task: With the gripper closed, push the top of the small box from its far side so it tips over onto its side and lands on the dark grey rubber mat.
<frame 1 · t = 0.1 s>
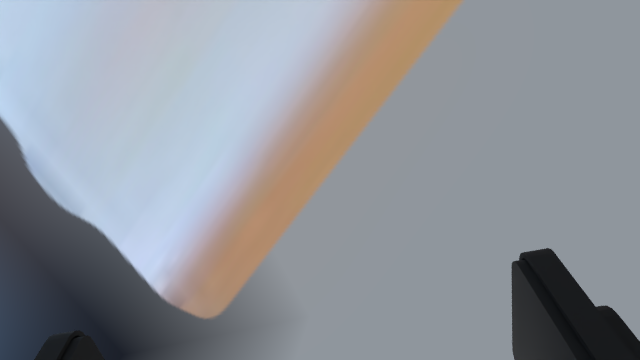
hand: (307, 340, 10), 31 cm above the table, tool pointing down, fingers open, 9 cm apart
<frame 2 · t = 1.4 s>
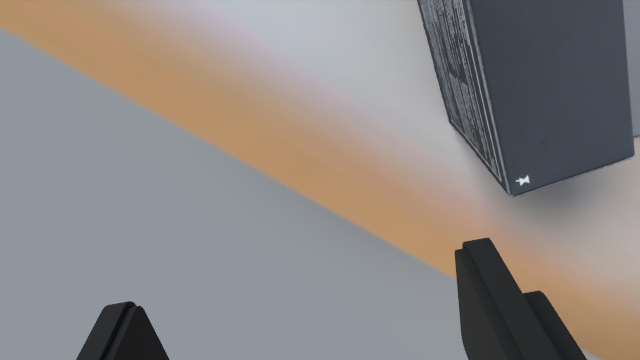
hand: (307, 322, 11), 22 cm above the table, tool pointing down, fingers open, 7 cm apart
small box: (478, 32, 30), on the table
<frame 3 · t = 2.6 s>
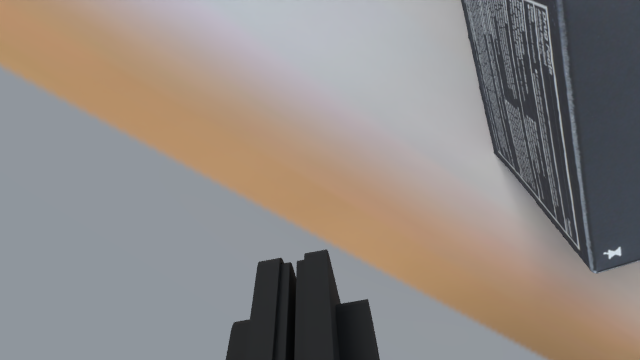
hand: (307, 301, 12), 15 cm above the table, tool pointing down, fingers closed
small box: (536, 44, 24), on the table
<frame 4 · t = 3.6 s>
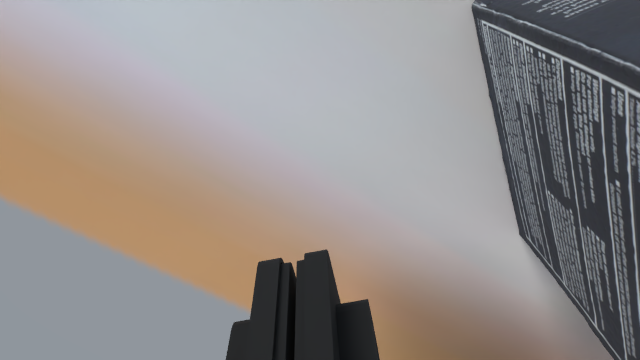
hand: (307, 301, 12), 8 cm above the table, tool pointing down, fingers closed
small box: (576, 102, 18), on the table
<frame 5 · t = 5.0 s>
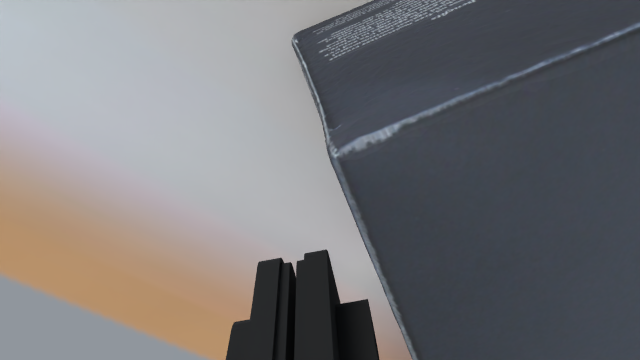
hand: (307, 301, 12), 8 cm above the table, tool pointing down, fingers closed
small box: (415, 130, 18), on the table, touching gripper
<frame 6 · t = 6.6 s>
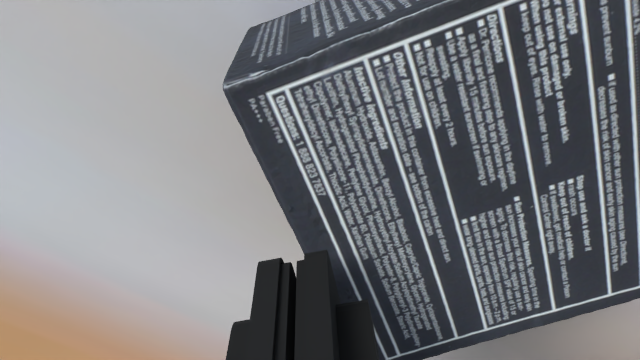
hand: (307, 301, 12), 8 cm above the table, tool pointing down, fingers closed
small box: (297, 202, 15), point 4 cm above the table, touching mat
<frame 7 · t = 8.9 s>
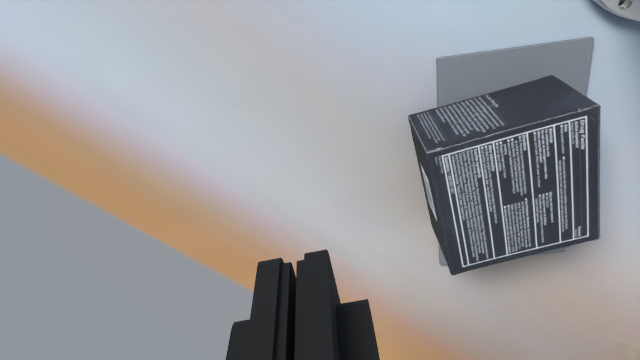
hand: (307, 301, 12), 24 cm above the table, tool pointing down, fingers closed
small box: (425, 195, 34), point 4 cm above the table, touching mat
mat: (505, 163, 37), on the table
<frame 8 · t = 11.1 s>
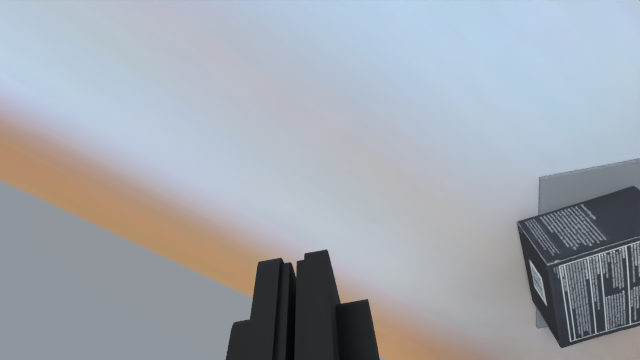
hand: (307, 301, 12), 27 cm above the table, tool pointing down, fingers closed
small box: (534, 284, 42), point 4 cm above the table, touching mat
mat: (593, 248, 45), on the table
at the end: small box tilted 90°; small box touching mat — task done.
